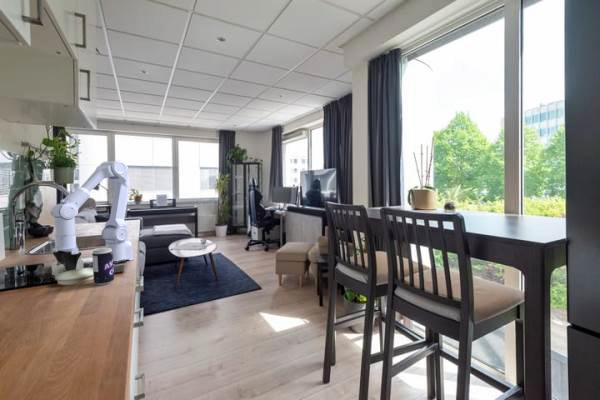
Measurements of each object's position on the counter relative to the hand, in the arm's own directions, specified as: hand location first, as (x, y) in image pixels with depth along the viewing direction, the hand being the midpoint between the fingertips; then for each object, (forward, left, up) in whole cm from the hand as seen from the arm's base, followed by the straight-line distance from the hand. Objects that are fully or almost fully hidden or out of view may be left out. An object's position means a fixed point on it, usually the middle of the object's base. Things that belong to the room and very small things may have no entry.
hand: (68, 270), depth 105 cm
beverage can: (-2, +23, -2) cm, 23 cm away
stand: (+1, +11, -1) cm, 11 cm away
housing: (0, 0, -2) cm, 2 cm away
